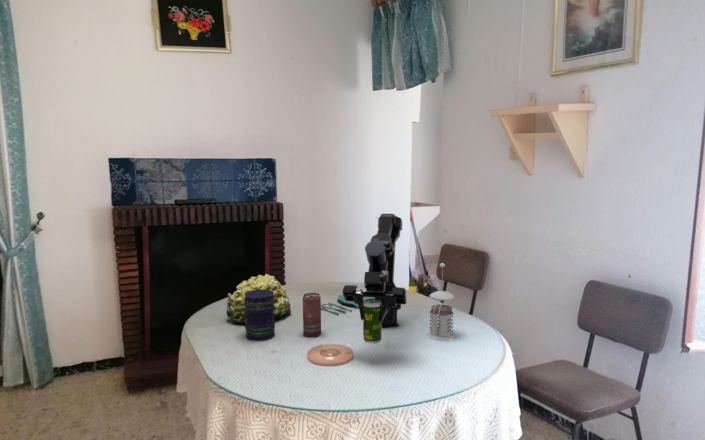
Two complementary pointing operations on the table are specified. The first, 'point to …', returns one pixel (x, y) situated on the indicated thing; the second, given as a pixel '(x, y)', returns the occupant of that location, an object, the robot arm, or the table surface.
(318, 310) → the can
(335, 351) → the saucer
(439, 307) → the french press
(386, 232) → the robot arm
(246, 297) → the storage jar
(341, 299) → the cutlery set
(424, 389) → the table surface
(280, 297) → the cauliflower
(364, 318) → the beer can
